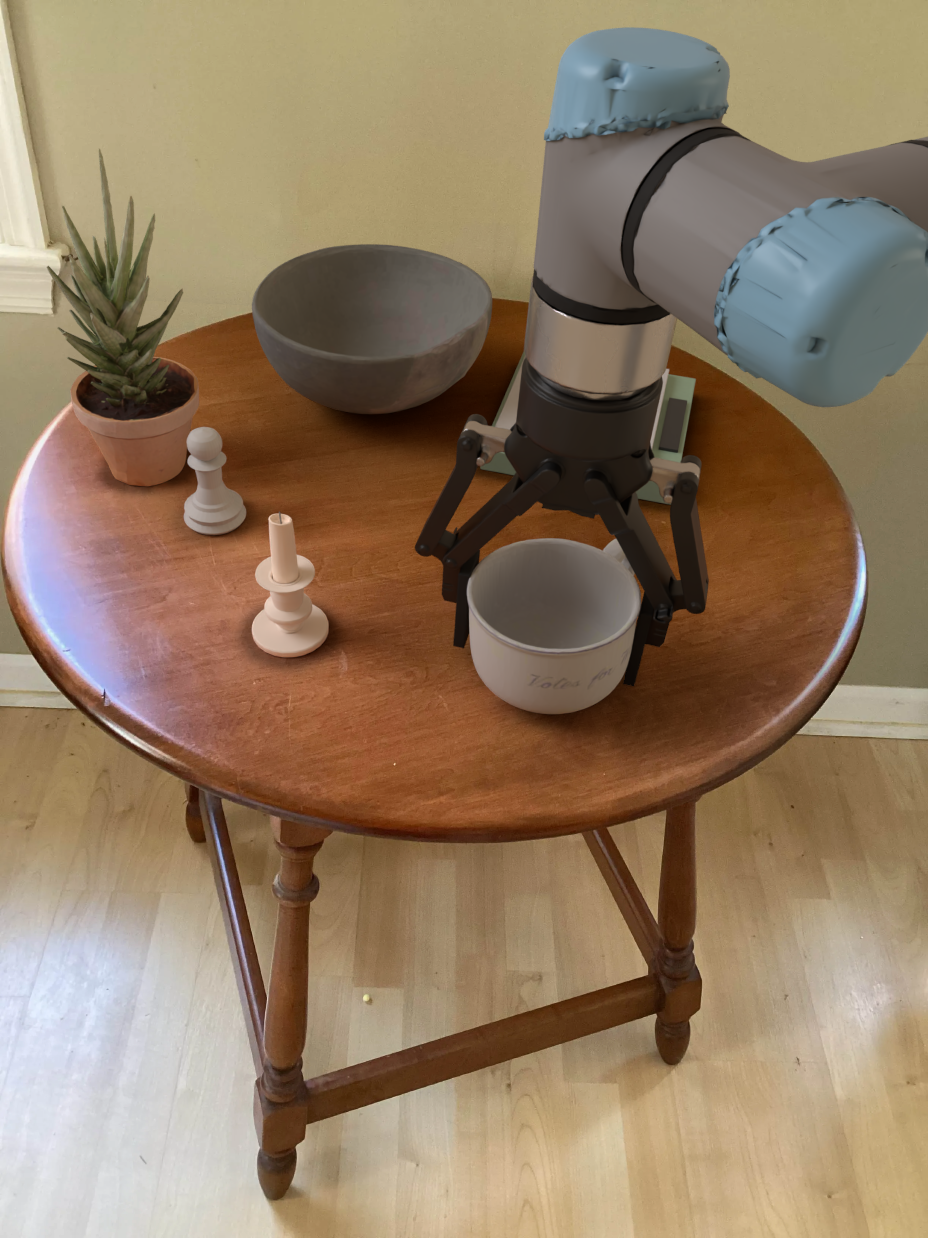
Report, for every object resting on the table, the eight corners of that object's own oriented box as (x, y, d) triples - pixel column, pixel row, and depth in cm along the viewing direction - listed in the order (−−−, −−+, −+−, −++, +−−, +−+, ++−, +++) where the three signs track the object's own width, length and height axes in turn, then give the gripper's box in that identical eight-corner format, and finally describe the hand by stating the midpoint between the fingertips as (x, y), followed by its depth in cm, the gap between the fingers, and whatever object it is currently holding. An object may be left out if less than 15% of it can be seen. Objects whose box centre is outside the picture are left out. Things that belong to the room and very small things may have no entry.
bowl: (371, 315, 105) (369, 217, 98) (530, 393, 96) (541, 290, 89) (213, 391, 93) (198, 286, 86) (377, 487, 84) (375, 378, 77)
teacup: (529, 764, 65) (542, 676, 59) (430, 658, 71) (433, 569, 65) (689, 673, 71) (715, 586, 65) (585, 583, 77) (600, 496, 71)
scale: (691, 397, 96) (697, 370, 94) (672, 505, 84) (678, 476, 82) (522, 368, 99) (525, 341, 97) (480, 469, 87) (482, 440, 85)
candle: (286, 595, 75) (274, 476, 67) (344, 625, 73) (338, 506, 65) (236, 636, 71) (218, 516, 64) (295, 669, 69) (284, 549, 62)
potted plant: (220, 486, 83) (176, 172, 66) (98, 509, 81) (18, 188, 63) (195, 420, 90) (149, 119, 73) (81, 439, 87) (5, 131, 70)
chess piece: (255, 527, 80) (244, 439, 74) (194, 543, 78) (179, 454, 73) (235, 493, 83) (224, 406, 77) (176, 507, 81) (161, 420, 76)
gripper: (818, 368, 56) (723, 651, 71) (402, 294, 59) (397, 580, 75) (817, 445, 51) (715, 733, 66) (360, 359, 54) (364, 652, 69)
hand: (546, 652), depth 70 cm, fingers closed on teacup, 11 cm apart
